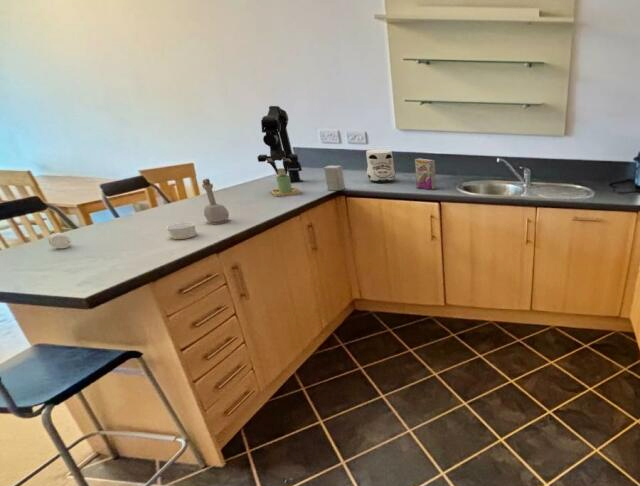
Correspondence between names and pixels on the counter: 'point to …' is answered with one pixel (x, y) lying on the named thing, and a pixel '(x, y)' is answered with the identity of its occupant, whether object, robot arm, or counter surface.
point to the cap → (281, 171)
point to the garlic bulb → (59, 240)
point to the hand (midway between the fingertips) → (282, 174)
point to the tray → (277, 193)
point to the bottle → (284, 184)
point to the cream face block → (380, 166)
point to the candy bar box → (425, 174)
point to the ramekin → (182, 230)
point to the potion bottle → (214, 206)
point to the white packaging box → (334, 177)
